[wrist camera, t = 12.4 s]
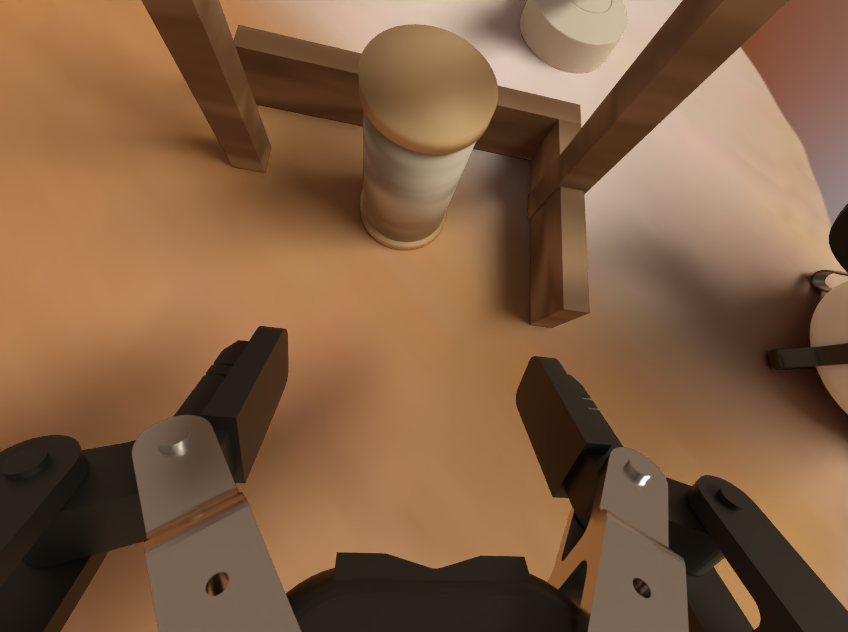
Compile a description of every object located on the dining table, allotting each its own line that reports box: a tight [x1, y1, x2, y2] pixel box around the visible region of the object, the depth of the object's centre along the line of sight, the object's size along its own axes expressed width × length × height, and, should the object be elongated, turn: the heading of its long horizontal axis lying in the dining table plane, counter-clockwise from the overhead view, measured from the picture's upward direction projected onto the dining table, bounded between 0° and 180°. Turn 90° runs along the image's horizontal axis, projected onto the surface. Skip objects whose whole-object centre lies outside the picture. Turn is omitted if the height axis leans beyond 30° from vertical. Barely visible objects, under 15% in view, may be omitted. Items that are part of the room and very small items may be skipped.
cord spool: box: [358, 24, 498, 250], centre depth 19 cm, size 6×6×10 cm
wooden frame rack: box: [142, 0, 789, 328], centre depth 15 cm, size 15×22×18 cm, turn 85°
